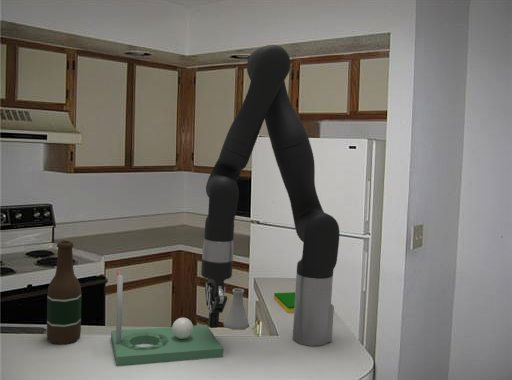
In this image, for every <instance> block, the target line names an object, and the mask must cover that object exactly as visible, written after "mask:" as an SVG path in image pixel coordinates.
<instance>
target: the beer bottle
mask: <svg viewBox="0 0 512 380" xmlns="http://www.w3.org/2000/svg"><path fill="white" fill-rule="evenodd" d="M56 247H57V259H56V268H55V274H54V276H53V277H52V279H51V280H50V282H49V285H48V288H47V293H46V295H47V296H46V302H47V303H46V339H47V341H48V342H50V343H51V344H52V345H62V344H65V345H68V344H69V345H70V344H73V343H76V342H77V341H78V340H79V339H80V338H81V332H82V331H81V330H82V285H81V283H80V281H79V279H78V278H77V276H76V275H75V270H74V261H73V260H74V259H73V248H74V243H73V242H72V241H70V240H61V241H58V242H57V244H56Z"/></svg>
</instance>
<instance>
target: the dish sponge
mask: <svg viewBox="0 0 512 380" xmlns="http://www.w3.org/2000/svg"><path fill="white" fill-rule="evenodd" d="M273 300H274V301H275V302H276V303H277V304H278V305H279V306H280V307H281V308H282V309H283V310H284V311H285V312H286V313H287V314H294V307H295V291H293V292H291V291H290V292H274V294H273Z"/></svg>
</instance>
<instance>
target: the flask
mask: <svg viewBox="0 0 512 380" xmlns="http://www.w3.org/2000/svg"><path fill="white" fill-rule="evenodd" d="M244 292H245V289H243V288H233V289H232V301H231V304H230V306H229V309H228V312H227V314H226V316H225V318H224V321H223V327H224V328H226V329H229V330H235V331H236V330H237V331H244V330H246V329H248V328H250V324H249V323H250V322H249V319H248V316H247V313H246V310H245V305H244V298H243V297H244Z"/></svg>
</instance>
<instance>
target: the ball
mask: <svg viewBox="0 0 512 380" xmlns="http://www.w3.org/2000/svg"><path fill="white" fill-rule="evenodd" d="M193 326H194V324H193V323H192V321H191V320H190V319H189V318H187V317H178V318H177V319H176V320H174V322H173V324H172V326H171V327H172V331H173V334H174V335H175V336H176V337H177V338H179V339H186V338H188V337H189V336H190V335H191V334H192V332H193Z"/></svg>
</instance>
